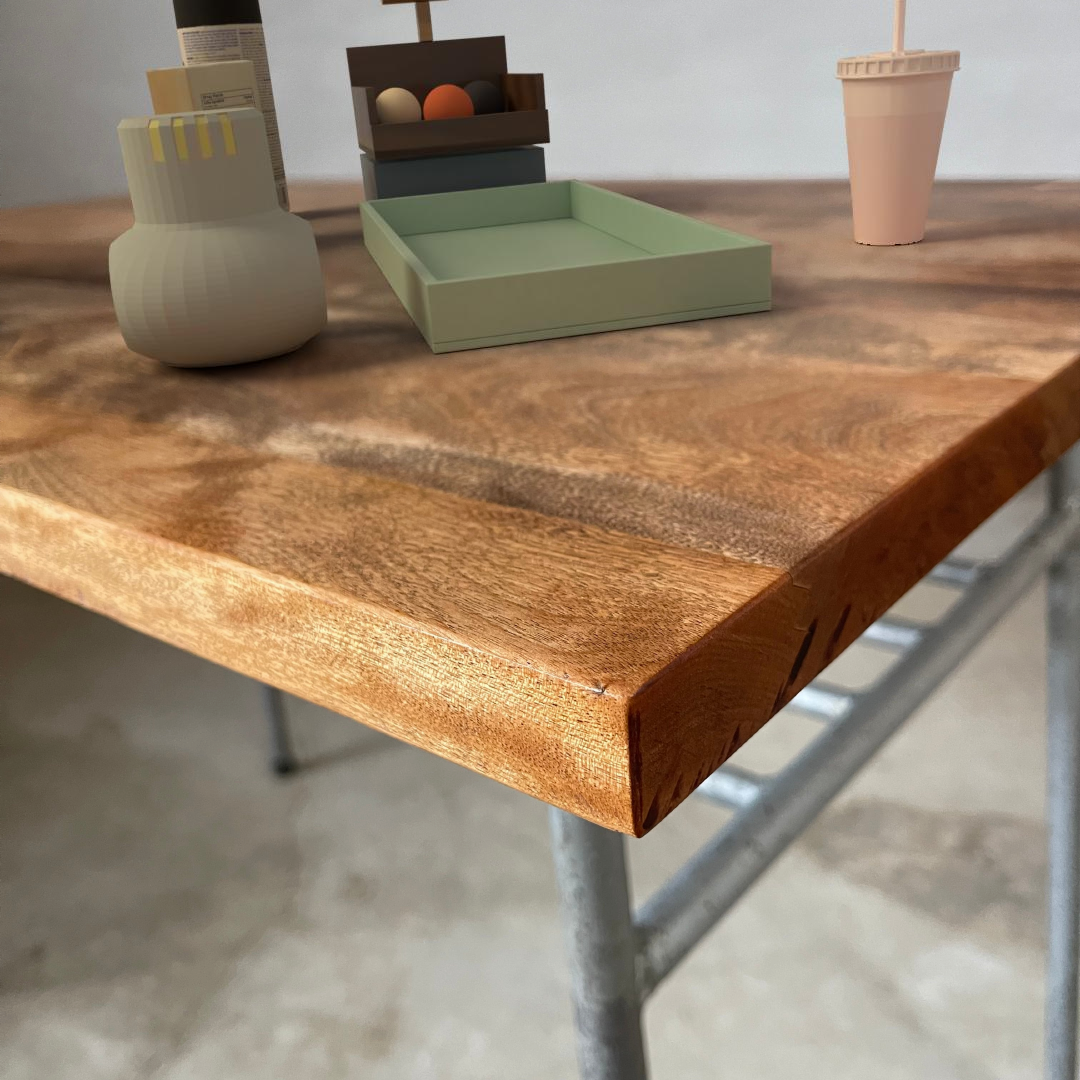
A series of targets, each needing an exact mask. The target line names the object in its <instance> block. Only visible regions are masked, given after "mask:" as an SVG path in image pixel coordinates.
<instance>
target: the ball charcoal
mask: <svg viewBox="0 0 1080 1080" xmlns="http://www.w3.org/2000/svg"><path fill="white" fill-rule="evenodd" d="M463 90H464V91H465V92H466V93H467V94H468V96H469V97H470V99H471V101H472V104H473V108H474V116H475V115H486V114H497V113H504V110H505V103H504V98H503V96H502V94H501V92H500V90H499V89H498V88H497V87H496V86H495V85H493V84H492V83H490V82H487V81H474V82H472V83H470V84H468V85H467V86H466V87H464V89H463Z"/></svg>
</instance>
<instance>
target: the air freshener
mask: <svg viewBox="0 0 1080 1080" xmlns="http://www.w3.org/2000/svg"><path fill="white" fill-rule="evenodd" d="M116 130H117V135H118V141H119V145H120V150H121V156H122V160H123V165H124V170H125V175H126V179H127V180H126V181H127V184H128V190H129V194H130V200H131V204H132V209H133V214H134V219H135V221H134V224H133V226H132V227H130V228H129V229H128V230H126V231H125V232H124V233H122V234H121V235H119V236H118V237H117V238H116V239H114V241H112V242H111V243H110V245H109V248H108V249H109V250H108V271H109V281H110V289H111V296H112V300H113V305H114V311H115V314H116V319H117V323H118V327H119V330H120V334H121V335H122V339H123V341H124V343H125V345H126V347H127V349H129V350H130V351H131V352H134V353H136V354H137V355H140V356H143V357H144V358H145V357H146V358H148V359H151V360H153V361H158V362H160V363H163V365H166V366H169V367H174V368H175V367H176V368H210V367H222V366H223V367H224V366H231V365H239V364H244V363H252V362H256V361H257V362H258V361H263V360H267V359H272V358H277V357H279V356H282V355H287V354H289V353H293V352H294V351H297V350H298V349H300V348H301V347H303V346H304V344H305V343H306V342H307V341H309V340H311V339H312V338H313V337H314V336H316V335H317V334H318V333H320V332H321V331H323V329H324V328H326V327H327V325H328V308H327V306H328V305H327V299H326V291H325V284H324V277H323V272H322V265H321V260H320V256H319V251H318V247H317V243H316V238H315V235H314V231H313V228H312V225H311V222H310V221H308V220H307V219H305V218H303V217H301V216H299V215H296V214H294V213H291V212H289V213H288V212H285V211H283V210H282V209H281V208H280V206H279V203H278V198H277V192H276V186H275V180H274V174H273V168H272V163H271V157H270V151H269V145H268V139H267V133H266V128H265V122H264V116H263V114H262V113H261V112H259V111H258V110H257V109H256V108H233V109H218V110H206V111H193V112H182V113H171V114H161V115H155V114H154V115H153V114H151V115H143V116H135V117H127V118H126V117H125V118H122V119H121V121H120V122H119V124H118V125H117V127H116Z"/></svg>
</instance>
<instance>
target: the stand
mask: <svg viewBox="0 0 1080 1080" xmlns="http://www.w3.org/2000/svg"><path fill="white" fill-rule="evenodd" d="M545 157H546V156H545V147H543V146H540V145H537V144H535V145H524V146H514V147H504V148H494V149H483V150H473V151H463V152H452V153H442V154H432V155H421V156H411V157H401V158H391V159H380V160H375V159H374V158H372V157H371V156H369V155H368V154H367V153H365V152H363V153H359V159H360V166H361V173H362V183H363V189H364V196H365V201H370V200H379V199H389V198H398V197H408V196H418V195H427V194H437V193H447V192H456V191H466V190H476V189H485V188H495V187H505V186H514V185H524V184H534V183H543V182H547V170H546V158H545Z"/></svg>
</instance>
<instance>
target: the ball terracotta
mask: <svg viewBox="0 0 1080 1080" xmlns="http://www.w3.org/2000/svg"><path fill="white" fill-rule="evenodd" d="M423 111H424V118H425V120H431V119H442V118H453V117H464V116H474V108H473V104H472V101H471V99H470V97H469V96H468V94H467V93H466V92H465V91H464V90H462V89H461V88H459V87H457V86H454V85H442V86H439V87H437V88H435V89H434V90H433V91H431V92H430V94H429V95H428V96H427V98H426V100H425V103H424V110H423Z"/></svg>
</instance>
